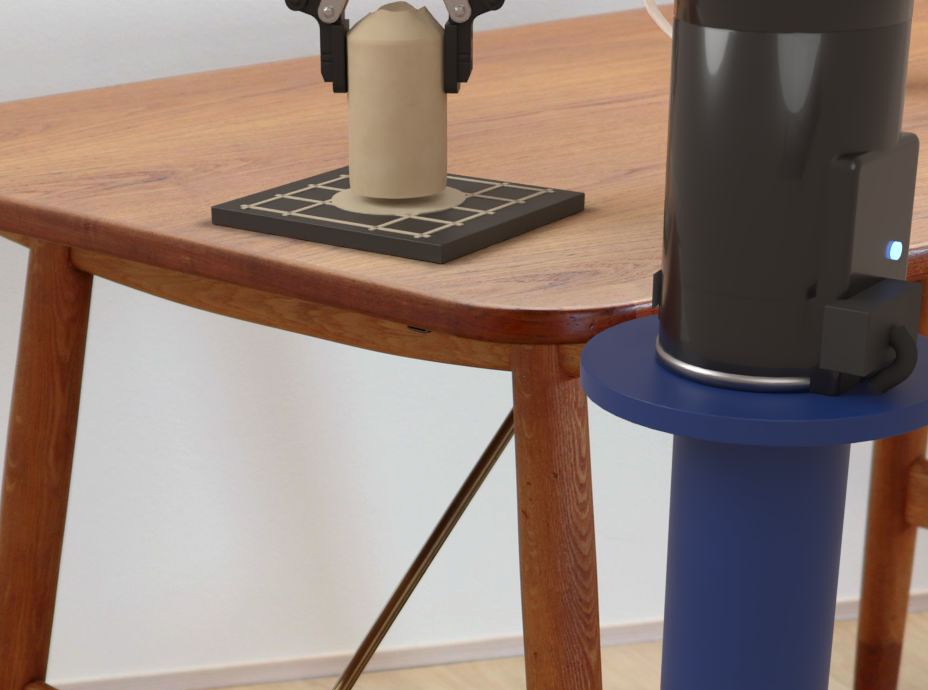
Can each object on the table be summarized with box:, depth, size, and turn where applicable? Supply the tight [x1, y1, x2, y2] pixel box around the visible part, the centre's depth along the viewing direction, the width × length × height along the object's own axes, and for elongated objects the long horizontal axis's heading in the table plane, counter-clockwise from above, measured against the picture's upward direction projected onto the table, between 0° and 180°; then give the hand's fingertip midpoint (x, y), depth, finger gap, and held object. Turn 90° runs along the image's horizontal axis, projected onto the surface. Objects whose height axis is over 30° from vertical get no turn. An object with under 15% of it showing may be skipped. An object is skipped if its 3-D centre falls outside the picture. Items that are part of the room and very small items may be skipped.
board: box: [210, 164, 586, 265], centre depth 109 cm, size 16×14×1 cm
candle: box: [346, 0, 448, 199], centre depth 106 cm, size 6×6×10 cm
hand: (397, 89), depth 106 cm, fingers closed on candle, 5 cm apart
